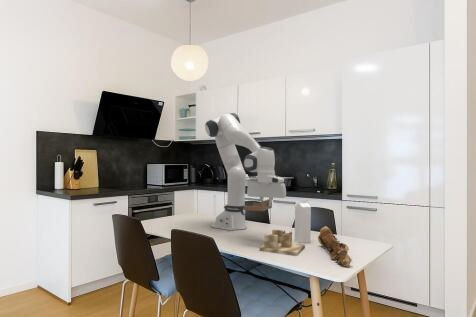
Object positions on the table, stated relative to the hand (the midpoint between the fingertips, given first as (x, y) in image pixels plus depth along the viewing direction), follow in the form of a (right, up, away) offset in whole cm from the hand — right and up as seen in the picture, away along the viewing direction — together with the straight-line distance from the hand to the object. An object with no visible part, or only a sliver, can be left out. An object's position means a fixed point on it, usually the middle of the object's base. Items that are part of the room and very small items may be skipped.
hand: (266, 206), depth 166 cm
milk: (+20, -20, +8) cm, 30 cm away
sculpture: (+29, -21, -16) cm, 39 cm away
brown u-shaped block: (-4, -2, +2) cm, 5 cm away
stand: (+7, -20, -8) cm, 22 cm away
